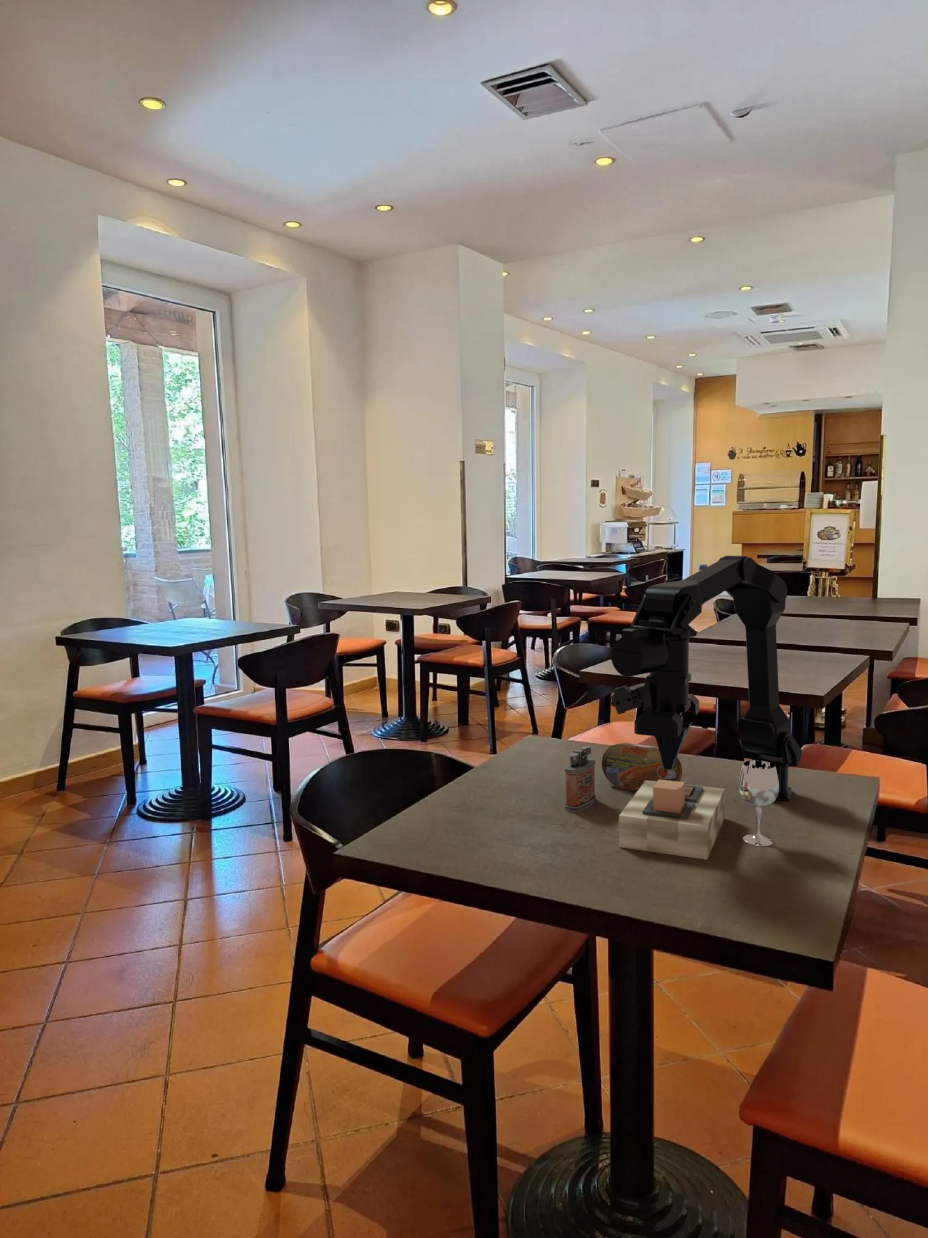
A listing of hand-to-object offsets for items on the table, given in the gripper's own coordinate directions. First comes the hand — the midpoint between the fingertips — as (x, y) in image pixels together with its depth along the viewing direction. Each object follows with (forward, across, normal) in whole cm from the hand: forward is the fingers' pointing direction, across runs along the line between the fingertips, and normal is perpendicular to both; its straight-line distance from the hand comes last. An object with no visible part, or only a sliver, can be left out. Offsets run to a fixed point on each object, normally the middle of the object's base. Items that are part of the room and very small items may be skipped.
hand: (667, 769), depth 124 cm
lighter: (+12, -11, -17) cm, 23 cm away
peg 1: (+8, 0, 0) cm, 8 cm away
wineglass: (+11, -5, +13) cm, 18 cm away
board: (+11, -4, 0) cm, 12 cm away
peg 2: (+11, -8, 0) cm, 14 cm away
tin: (+11, -23, -9) cm, 27 cm away
